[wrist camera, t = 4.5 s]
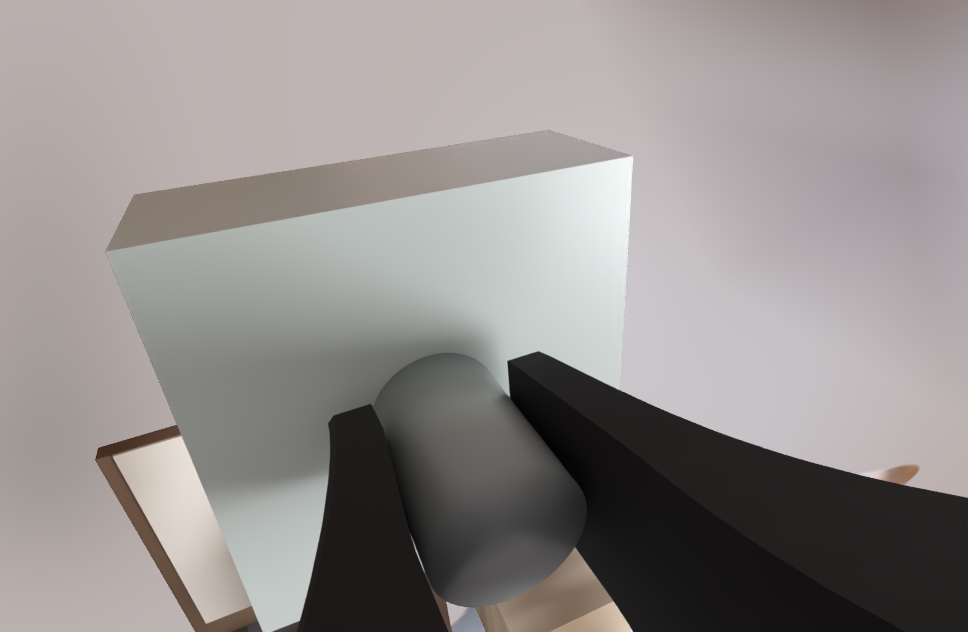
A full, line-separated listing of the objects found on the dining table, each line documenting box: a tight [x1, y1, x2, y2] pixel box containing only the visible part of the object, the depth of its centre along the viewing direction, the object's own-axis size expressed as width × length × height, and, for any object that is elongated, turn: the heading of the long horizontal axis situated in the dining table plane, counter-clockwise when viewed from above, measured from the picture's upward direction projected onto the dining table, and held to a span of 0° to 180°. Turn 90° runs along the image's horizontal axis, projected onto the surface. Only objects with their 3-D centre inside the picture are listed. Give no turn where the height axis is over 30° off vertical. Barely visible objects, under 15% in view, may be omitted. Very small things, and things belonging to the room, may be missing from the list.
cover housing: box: [106, 130, 633, 632], centre depth 10 cm, size 8×8×6 cm
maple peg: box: [476, 547, 631, 632], centre depth 24 cm, size 4×4×8 cm
